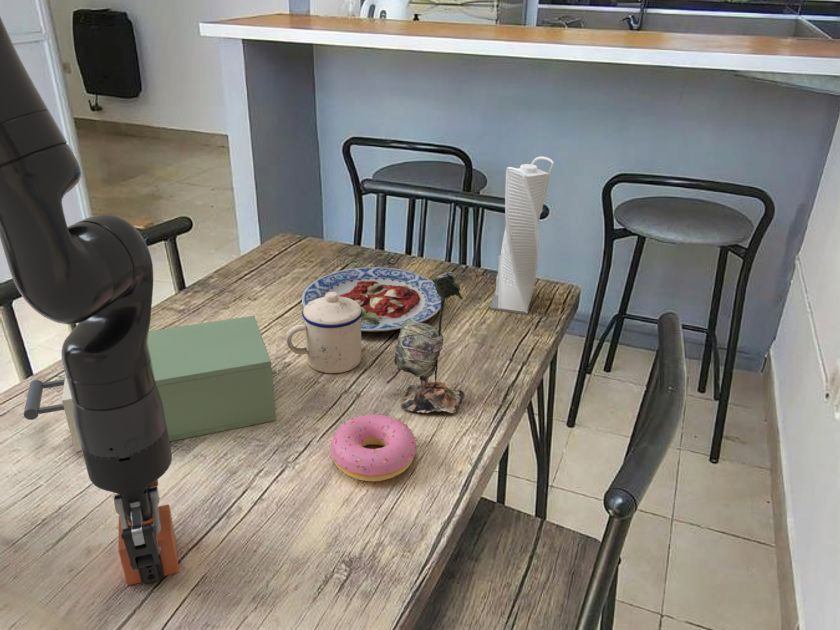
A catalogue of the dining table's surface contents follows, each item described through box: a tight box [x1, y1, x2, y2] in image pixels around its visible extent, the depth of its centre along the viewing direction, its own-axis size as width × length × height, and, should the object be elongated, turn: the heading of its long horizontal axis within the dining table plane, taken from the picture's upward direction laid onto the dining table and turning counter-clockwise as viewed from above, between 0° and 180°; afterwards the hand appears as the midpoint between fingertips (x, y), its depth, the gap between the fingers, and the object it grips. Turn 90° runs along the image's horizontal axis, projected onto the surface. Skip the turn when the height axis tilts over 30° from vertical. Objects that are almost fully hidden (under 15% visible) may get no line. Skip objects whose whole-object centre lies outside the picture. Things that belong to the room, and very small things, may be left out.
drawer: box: [23, 373, 82, 452], centre depth 91 cm, size 20×12×8 cm, turn 111°
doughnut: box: [329, 413, 418, 482], centre depth 86 cm, size 11×11×4 cm
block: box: [117, 503, 180, 586], centre depth 71 cm, size 5×5×5 cm
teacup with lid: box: [285, 292, 363, 374], centre depth 105 cm, size 12×9×12 cm
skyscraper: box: [489, 155, 555, 315], centre depth 120 cm, size 8×8×28 cm
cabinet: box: [148, 315, 277, 442], centre depth 95 cm, size 16×14×10 cm
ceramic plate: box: [301, 266, 442, 332], centre depth 124 cm, size 26×26×3 cm
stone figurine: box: [385, 271, 466, 414], centre depth 94 cm, size 8×11×20 cm
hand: (152, 558), depth 72 cm, fingers closed on block, 5 cm apart
